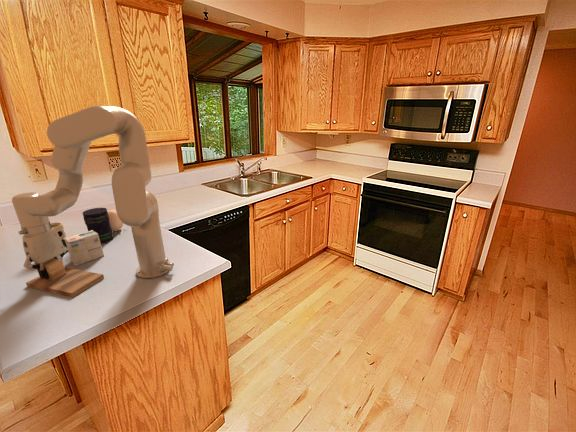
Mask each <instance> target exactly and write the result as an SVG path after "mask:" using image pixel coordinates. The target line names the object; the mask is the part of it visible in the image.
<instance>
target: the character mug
mask: <svg viewBox="0 0 576 432" xmlns="http://www.w3.org/2000/svg"><path fill="white" fill-rule="evenodd" d="M50 225H51V228H55V230H56V231H57V233H58V235H59V237H60V239H61V241H62V243H63V246H65V247H67V245H66V242H65V239H64V238H66V237H67V233H66V232H65V228H64V224H63V223H62V222H60V221H59V222H57V221H56V222H50ZM66 252H68V250H67V251H66ZM66 252H65V253H66Z"/></svg>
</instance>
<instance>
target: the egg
mask: <svg viewBox="0 0 576 432" xmlns="http://www.w3.org/2000/svg"><path fill="white" fill-rule="evenodd" d="M107 212H108V215H109V222H110V226H111V228H112V231H113V232H118V231H120V230H121V229H122V228H123V226H124V223H123V222H122V221H121V220H120V219H119V217H118V215H117V211H116V209H111V210H107Z"/></svg>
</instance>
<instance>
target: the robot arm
mask: <svg viewBox="0 0 576 432" xmlns="http://www.w3.org/2000/svg"><path fill="white" fill-rule="evenodd" d="M110 135H117V137H118V153H119V156H120V166H118V167H117V168H116V169H115V170H114V172H112V176H111V189H112V194H113V200H114V205H115V211H117V215H118V217H119V219H120V220H121V221H122V222H123V225H125V226H128V227H131V233H132V238H133V242H134V243H133V244H134V248H135V251H136V256H137V257H136V258H137V261H138V267H137V268H136V269H135V273H136V276H137V277H139V278H141V279H154V278H157V277H161V276H163V275H165V274H167V273H168V272H171V271H173V268H174V266H175V263H174V262H171V261H170V260H169V258H168V257H166V252H165V245H164V240H163V236H162V229H161V222H160V214H159V211H160V210H159V203H158V200H157V197H155V195H154V194H153V193H152V192H150V191H148V190H146V187H147V186H148V185H149V184H150V182H151V180H152V170H151V165H150V158H149V150H148V143H147V138H146V133H145V129H144V126H143V125H142V123H141V121H140V120H139V118H138V117H136V115H134V114H133V113H132V112H130V111H129V110H126V109H124V108H122V107H120V106H115V105H93V106H89V107H86V108H83V109H81V110H78V111H76V112H74V113H71V114H68V115H65V116H62V117H59V118H57V119H54V120H53V121H52V122H50V123H49V125H48V126H47V129H46V136H47V139H48V140H49V142H50V143H51V145H53V146H54V147H53V150H52V154H51V157H50V159H49V160H50V161H49V162H50V165H51V166H52V167H53V168H55V169H57V170H58V180H57V182H56V186H55V188H54V189H52V190H50V191H49V192H46V193H44V194H40V193H39V192H34V191H33V192H24V193H18V194H16V195H14V196H13V197H12V198H11V202H12V205H13V207H14V208H13V209H14V211H15V213H16V216H17V219H18V221H19V224H20V229H21V230H18V232H17V233H18V235H20V236H22V237H21V238H22V246H23V251H24V254H25V258H26V259H25V261H24V263H23V268H28V269H34V270H36V271H37V270H38V271H37V273H38V272H39V273H38V275H40V277H41V278H44V279H49V275H48V273H47V270H46V269H44V262H45V261H47V260H50V259H52V258H53V259H59V260H62V261H63V258H64V256H65V253H66V251H67V252H68V248H67V247H65V246H63V243H62V241H61V239H60V237H59V235H58V233H57V231H56V230H55V228H51V225H50V223H51V222H50V219H49V217H56V216H58V215H60V214H61V213H64V211H67V210H68V209H69V208H71V207H72V206H74V205H75V204H76V202H77V201H78V198H79V197H80V196H79V195H80V194H81V191H82V187H83V184H84V183H83V182H84V179H83V178H84V177H83V175H84V174H83V167H84V164H85V161H86V157H87V156H88V151H89V149H90V147H91V144H92V142H93V141H96V140H98V139H101V138H104V137H107V136H110ZM32 263H34V264H32Z"/></svg>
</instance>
